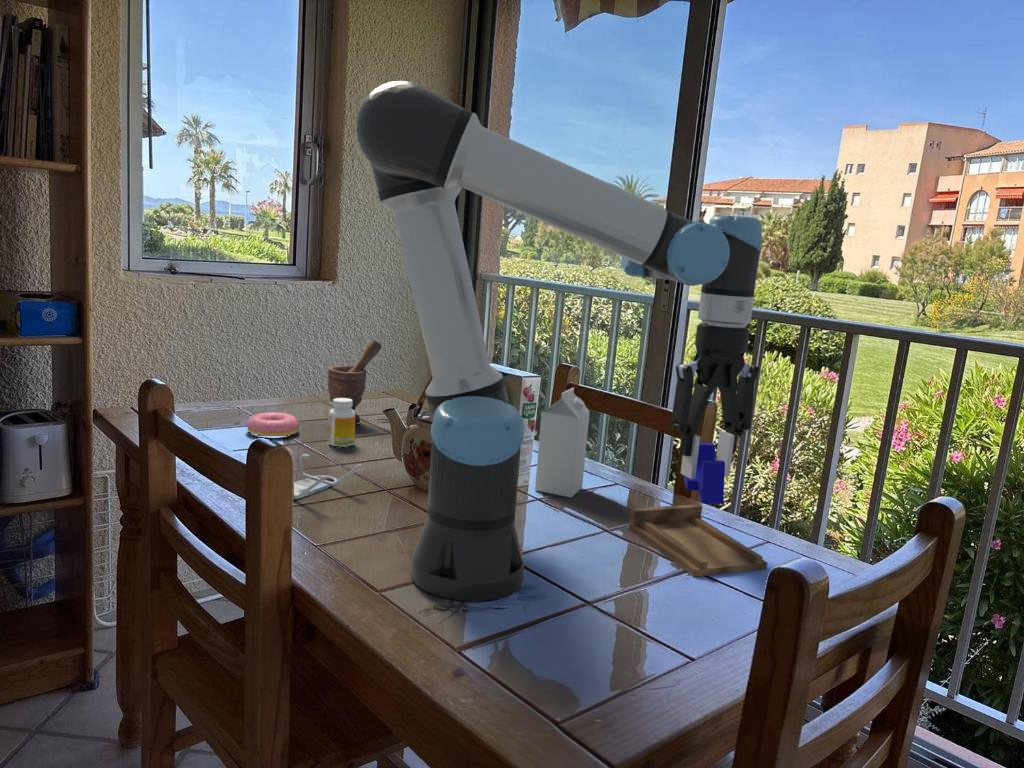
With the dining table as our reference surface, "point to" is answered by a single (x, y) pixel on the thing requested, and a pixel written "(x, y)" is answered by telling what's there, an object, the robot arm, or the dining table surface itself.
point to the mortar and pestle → (351, 378)
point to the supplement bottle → (342, 423)
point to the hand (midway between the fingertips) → (704, 474)
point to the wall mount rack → (313, 486)
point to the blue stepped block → (708, 476)
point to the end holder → (692, 541)
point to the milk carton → (562, 446)
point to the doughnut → (273, 424)
